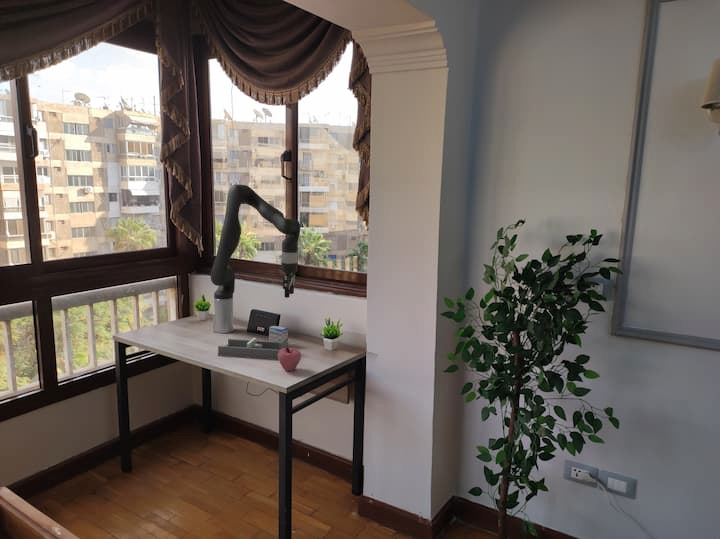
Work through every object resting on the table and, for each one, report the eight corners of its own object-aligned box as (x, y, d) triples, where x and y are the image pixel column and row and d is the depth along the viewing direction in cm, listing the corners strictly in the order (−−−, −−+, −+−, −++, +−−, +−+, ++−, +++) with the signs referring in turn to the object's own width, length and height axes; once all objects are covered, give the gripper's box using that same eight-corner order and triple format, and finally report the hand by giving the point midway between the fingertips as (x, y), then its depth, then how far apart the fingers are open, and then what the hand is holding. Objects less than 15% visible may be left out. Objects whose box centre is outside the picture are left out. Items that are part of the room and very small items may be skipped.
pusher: (246, 353, 230) (246, 343, 230) (253, 347, 239) (253, 337, 239) (258, 354, 230) (258, 344, 229) (265, 347, 239) (265, 338, 238)
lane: (218, 355, 230) (217, 340, 229) (229, 347, 243) (229, 332, 242) (280, 359, 227) (280, 344, 225) (288, 350, 239) (288, 335, 238)
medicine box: (268, 345, 247) (268, 327, 246) (274, 342, 251) (274, 325, 250) (282, 347, 244) (282, 329, 242) (288, 345, 248) (288, 327, 246)
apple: (303, 372, 212) (303, 348, 211) (282, 375, 208) (282, 350, 207) (294, 365, 221) (295, 341, 219) (274, 367, 217) (274, 344, 215)
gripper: (285, 259, 255) (285, 292, 257) (277, 263, 241) (277, 298, 243) (300, 259, 254) (300, 293, 256) (293, 264, 240) (293, 299, 242)
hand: (289, 295), depth 250 cm, fingers open, 8 cm apart
